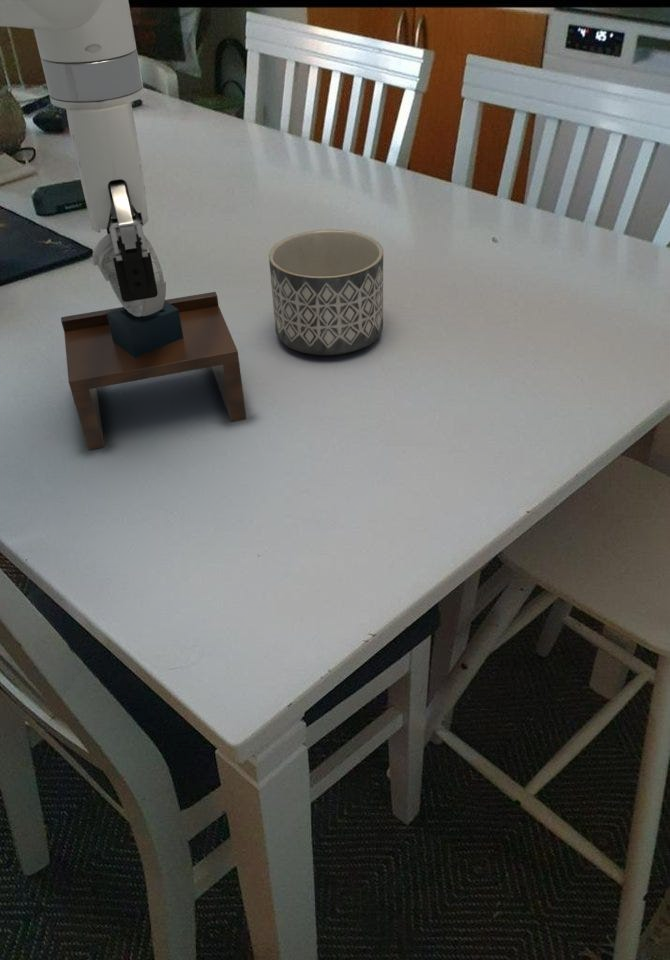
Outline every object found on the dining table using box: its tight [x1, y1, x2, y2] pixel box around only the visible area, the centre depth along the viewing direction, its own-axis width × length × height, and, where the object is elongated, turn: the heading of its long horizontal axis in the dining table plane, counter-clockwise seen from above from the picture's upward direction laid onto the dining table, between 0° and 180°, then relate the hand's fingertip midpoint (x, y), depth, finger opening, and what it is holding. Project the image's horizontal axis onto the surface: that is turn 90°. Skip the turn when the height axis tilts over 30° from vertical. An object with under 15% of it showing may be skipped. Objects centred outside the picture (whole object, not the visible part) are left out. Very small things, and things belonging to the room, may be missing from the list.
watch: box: [90, 230, 183, 358], centre depth 77 cm, size 6×8×11 cm
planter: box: [268, 229, 384, 356], centre depth 93 cm, size 13×13×10 cm
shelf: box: [60, 291, 247, 451], centre depth 83 cm, size 16×11×9 cm
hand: (134, 276), depth 76 cm, fingers open, 8 cm apart
